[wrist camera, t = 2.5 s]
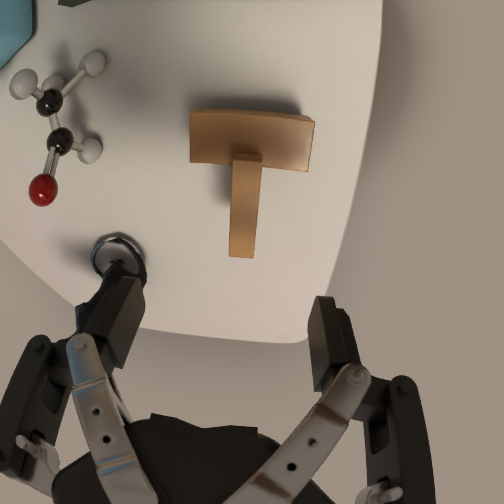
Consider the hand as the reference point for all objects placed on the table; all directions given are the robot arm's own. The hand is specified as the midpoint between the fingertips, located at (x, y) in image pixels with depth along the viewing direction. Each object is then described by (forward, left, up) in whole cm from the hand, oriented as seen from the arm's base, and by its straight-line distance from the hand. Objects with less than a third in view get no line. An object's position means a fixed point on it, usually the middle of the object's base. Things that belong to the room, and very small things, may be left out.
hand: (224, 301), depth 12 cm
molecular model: (+17, -7, -17) cm, 25 cm away
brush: (0, -1, -17) cm, 16 cm away
